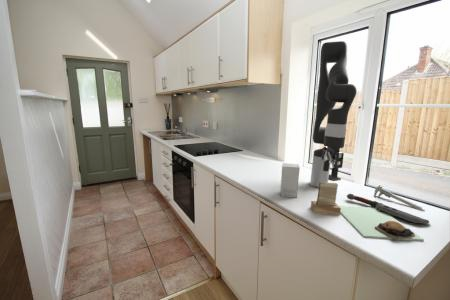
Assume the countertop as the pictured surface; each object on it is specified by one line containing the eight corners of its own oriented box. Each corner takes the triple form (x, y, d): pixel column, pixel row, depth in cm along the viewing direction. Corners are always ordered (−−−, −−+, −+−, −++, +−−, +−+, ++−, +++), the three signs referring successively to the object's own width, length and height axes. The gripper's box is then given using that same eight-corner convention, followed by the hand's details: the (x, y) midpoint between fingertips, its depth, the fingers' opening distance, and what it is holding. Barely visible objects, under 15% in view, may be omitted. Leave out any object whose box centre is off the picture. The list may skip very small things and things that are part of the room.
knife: (354, 191, 112) (431, 218, 88) (353, 195, 113) (430, 223, 89) (345, 193, 107) (425, 223, 83) (344, 198, 108) (423, 228, 84)
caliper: (373, 196, 116) (375, 184, 115) (374, 195, 116) (376, 184, 115) (424, 211, 99) (427, 198, 98) (425, 211, 100) (428, 198, 99)
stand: (310, 207, 99) (311, 200, 98) (333, 208, 99) (334, 202, 98) (315, 213, 93) (316, 206, 93) (339, 214, 93) (340, 208, 92)
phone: (333, 179, 137) (313, 172, 150) (333, 181, 137) (313, 174, 150) (341, 178, 140) (322, 171, 153) (341, 180, 140) (322, 173, 153)
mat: (334, 206, 101) (334, 205, 100) (379, 209, 100) (379, 207, 100) (363, 237, 77) (363, 235, 77) (423, 241, 76) (423, 239, 76)
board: (316, 208, 97) (319, 182, 94) (332, 209, 96) (336, 183, 94) (317, 210, 95) (320, 183, 93) (334, 211, 95) (337, 184, 93)
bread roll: (394, 240, 75) (396, 230, 74) (372, 227, 83) (373, 218, 82) (417, 237, 77) (420, 227, 77) (394, 224, 85) (396, 215, 85)
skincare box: (296, 193, 114) (299, 164, 111) (297, 198, 108) (300, 167, 105) (279, 191, 116) (282, 162, 113) (279, 196, 110) (282, 165, 107)
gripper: (319, 132, 97) (314, 168, 100) (332, 137, 83) (327, 178, 86) (336, 133, 96) (331, 169, 99) (353, 138, 82) (347, 179, 85)
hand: (329, 173), depth 93 cm, fingers open, 8 cm apart
